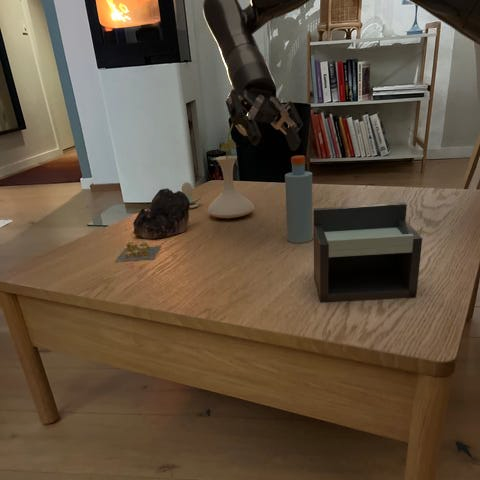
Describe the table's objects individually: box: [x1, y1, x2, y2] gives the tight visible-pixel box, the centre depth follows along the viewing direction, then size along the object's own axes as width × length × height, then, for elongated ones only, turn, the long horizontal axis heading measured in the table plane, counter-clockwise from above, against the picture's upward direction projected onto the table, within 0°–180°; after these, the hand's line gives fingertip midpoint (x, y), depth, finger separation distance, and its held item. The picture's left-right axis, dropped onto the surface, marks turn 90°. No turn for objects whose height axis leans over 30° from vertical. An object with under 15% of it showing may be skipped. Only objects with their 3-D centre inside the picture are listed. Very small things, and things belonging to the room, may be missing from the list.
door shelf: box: [312, 202, 423, 303], centre depth 72 cm, size 14×10×12 cm
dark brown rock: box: [132, 188, 190, 240], centre depth 108 cm, size 13×14×10 cm
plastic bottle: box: [284, 155, 314, 244], centre depth 93 cm, size 5×5×16 cm
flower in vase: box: [207, 110, 255, 219], centre depth 112 cm, size 13×11×25 cm
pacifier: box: [181, 181, 202, 209], centre depth 127 cm, size 7×6×6 cm
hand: (277, 144), depth 84 cm, fingers open, 8 cm apart
